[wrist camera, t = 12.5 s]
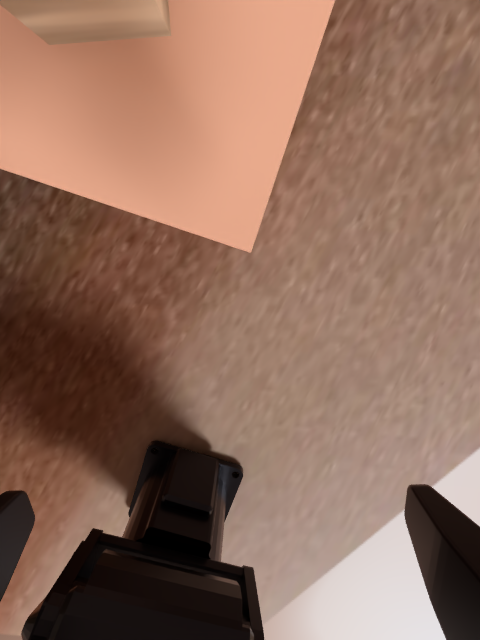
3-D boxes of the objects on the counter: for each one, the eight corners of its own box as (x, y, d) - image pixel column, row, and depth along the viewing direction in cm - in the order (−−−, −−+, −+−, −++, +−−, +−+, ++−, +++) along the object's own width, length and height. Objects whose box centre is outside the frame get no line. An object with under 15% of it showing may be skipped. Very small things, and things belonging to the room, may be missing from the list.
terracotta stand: (250, 246, 19) (250, 252, 16) (-41, 148, 18) (-95, 136, 15) (345, -38, 16) (366, -93, 13) (-16, -181, 15) (-81, -277, 12)
